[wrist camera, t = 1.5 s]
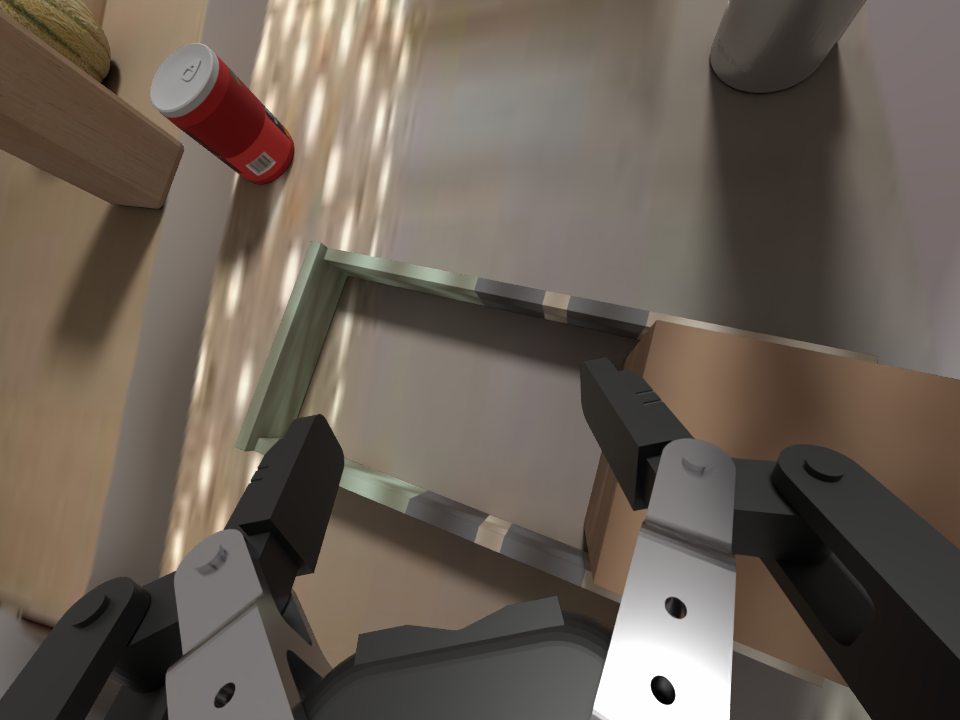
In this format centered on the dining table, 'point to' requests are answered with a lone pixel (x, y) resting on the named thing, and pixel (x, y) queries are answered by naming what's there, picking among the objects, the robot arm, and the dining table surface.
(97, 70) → the cantaloupe
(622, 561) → the walnut block
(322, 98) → the dining table surface
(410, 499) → the tray
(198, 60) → the canned food
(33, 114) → the block
